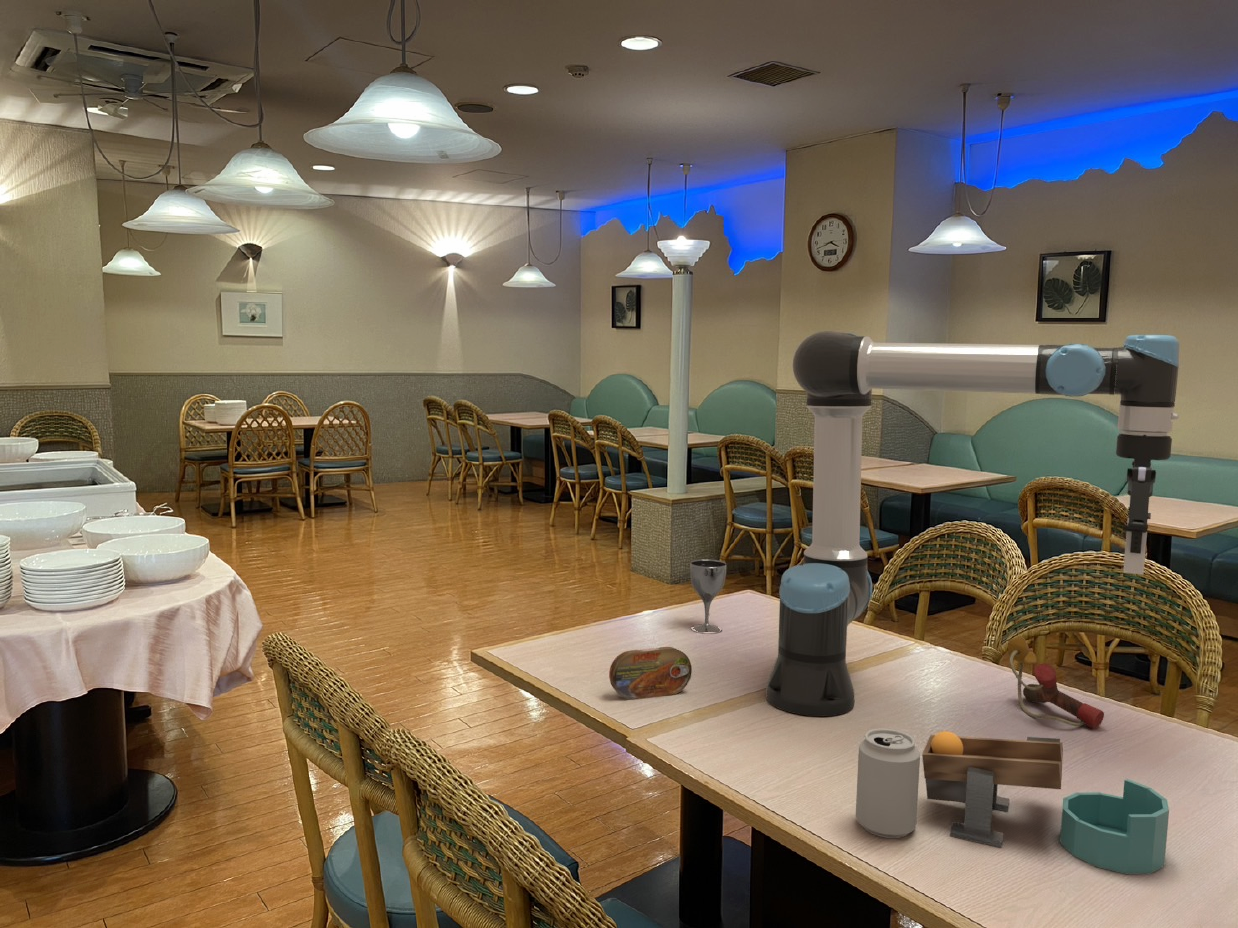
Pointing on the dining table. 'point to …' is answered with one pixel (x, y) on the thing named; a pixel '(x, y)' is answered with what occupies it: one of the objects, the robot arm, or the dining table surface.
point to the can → (887, 783)
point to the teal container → (1117, 829)
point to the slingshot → (1048, 688)
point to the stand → (980, 809)
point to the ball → (947, 744)
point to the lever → (993, 765)
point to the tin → (650, 673)
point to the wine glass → (707, 586)
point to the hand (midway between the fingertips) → (1133, 565)
